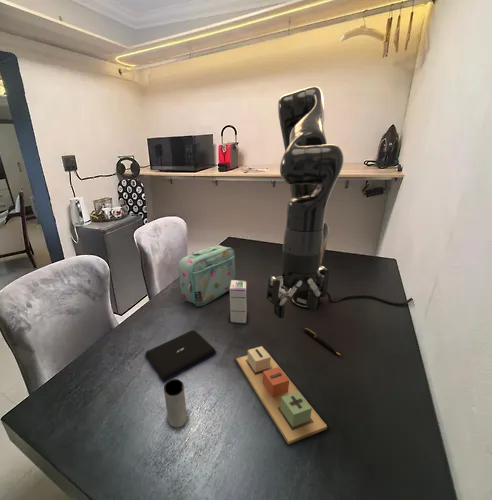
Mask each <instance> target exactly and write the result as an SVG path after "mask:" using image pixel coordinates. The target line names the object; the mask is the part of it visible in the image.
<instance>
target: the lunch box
mask: <svg viewBox="0 0 492 500" xmlns="http://www.w3.org/2000/svg"><path fill="white" fill-rule="evenodd" d="M177 267H178V268H177V269H178V278H179V285H180V293H181V297H182V299H183V300H185V301H187V302H190V303H193V304H194V305H195V306H197V307H202V306H205V305H206V304H209V303H210V302H212V301H214V300H216V299H218V298H219V297H221V296H222V295H224V294H225V293H227V292H230V283H231V280H237V268H236V253H235V250H234V249H233V248H232V247H229V246H228V247H227V246H223V245H220V244H218V245H217V244H216V245H213V246H209V247H206V248H204V249H201V250H198V251H195V252H192V253H190V254H188V255H186V256H184V257H182V258H181V259H180V260H179V263H178V266H177Z"/></svg>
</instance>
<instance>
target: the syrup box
mask: <svg viewBox="0 0 492 500" xmlns="http://www.w3.org/2000/svg"><path fill="white" fill-rule="evenodd" d="M247 297H248V296H247V281H246V280H242V279H241V280H240V279H236V280H231V283H230V290H229V309H230V310H229V313H230V315H229V316H230V323H238V324H247V313H248V309H247V308H248V307H247V306H248V304H247V303H248V299H247Z"/></svg>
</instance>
